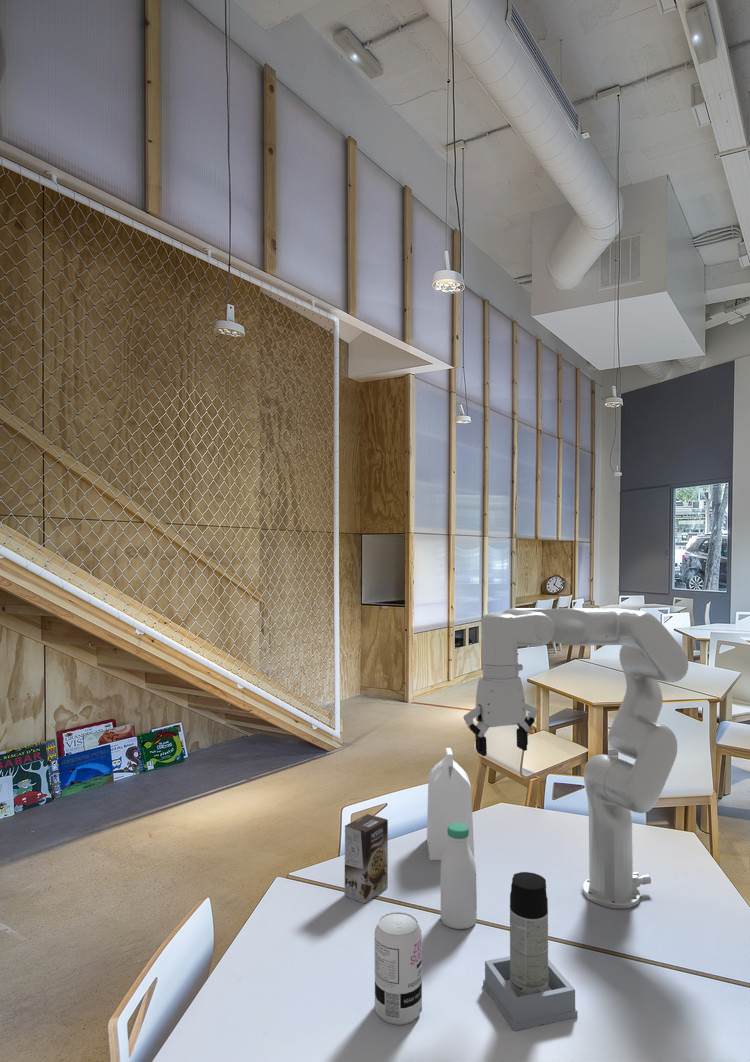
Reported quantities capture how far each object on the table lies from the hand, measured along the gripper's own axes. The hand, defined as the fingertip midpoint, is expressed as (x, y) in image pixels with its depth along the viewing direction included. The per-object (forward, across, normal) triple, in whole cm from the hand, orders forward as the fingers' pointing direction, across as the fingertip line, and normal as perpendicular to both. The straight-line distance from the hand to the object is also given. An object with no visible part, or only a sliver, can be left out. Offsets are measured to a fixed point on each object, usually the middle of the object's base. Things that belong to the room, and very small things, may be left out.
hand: (502, 751), depth 142 cm
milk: (+37, -3, -36) cm, 52 cm away
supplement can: (+36, +31, +17) cm, 51 cm away
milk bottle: (+37, +9, -5) cm, 38 cm away
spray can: (+36, +8, +22) cm, 43 cm away
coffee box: (+36, +24, -22) cm, 49 cm away
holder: (+36, +8, +22) cm, 44 cm away
